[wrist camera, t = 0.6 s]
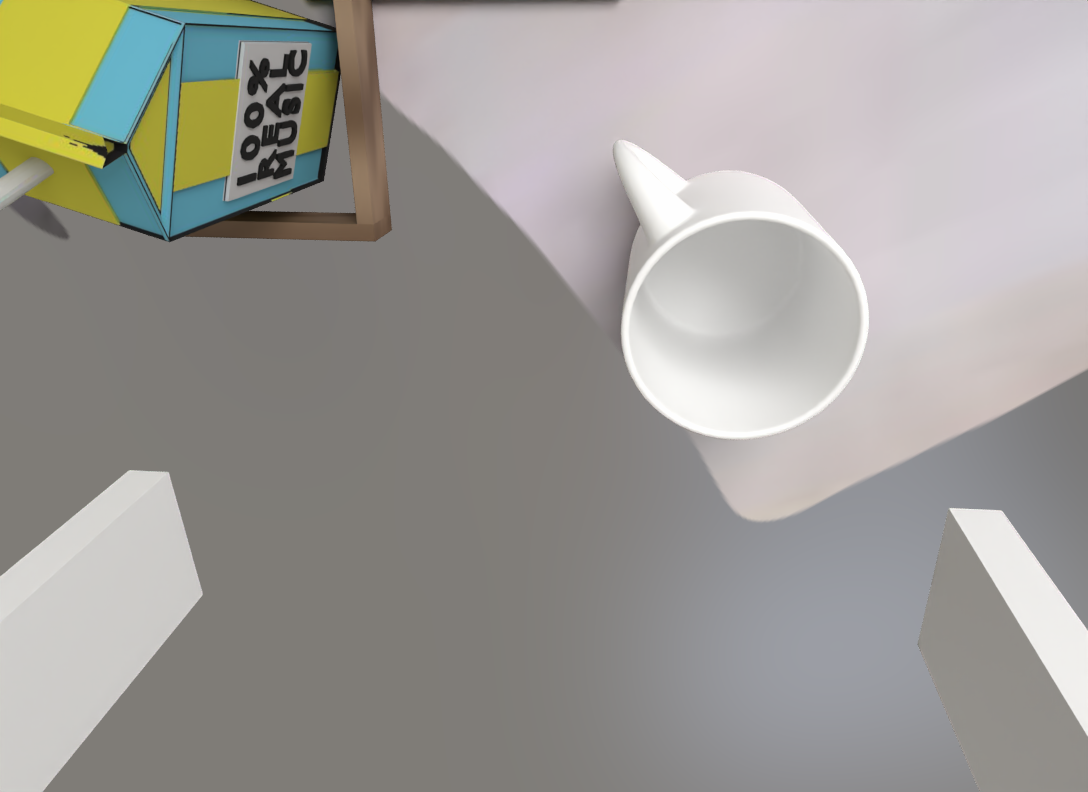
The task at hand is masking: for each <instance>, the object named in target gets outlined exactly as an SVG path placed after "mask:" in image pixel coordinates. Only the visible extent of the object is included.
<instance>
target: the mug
mask: <svg viewBox="0 0 1088 792" xmlns="http://www.w3.org/2000/svg"><path fill="white" fill-rule="evenodd" d="M613 157H614V161H615V165H616V168H617V171H618V174H619V177H620V179H621V182H622V184H623V187H624V189H625V191H626V193H627V196H628V198H629V200H630V202H631V204H632V206H633V209H634V211H635V213H636V215H637V217H638V220H639V222H640V226H639V228H638V230H637V233H636V236H635V238H634V241H633V244H632V249H631V254H630V259H629V267H628V274H627V281H626V289H625V296H624V304H623V311H622V320H621V346H622V350H623V355H624V360H625V363H626V365H627V368H628V371H629V374H630V376H631V377H632V379H633V381H634V383H635V385H636V387H637V388H638V390H639V391H640V392H641V394H642V395H643V397H644V398H645V399H646V400H647V401H648V402H649V403H650V404H651V405H652V406H653V407H654V408H655V409H656V410H657V411H658V412H660V413H661V414H662V415H663V416H665V417H666V418H668V419H669V420H671V421H672V422H674V423H675V424H677V425H679V426H681V427H683V428H685V429H687V430H690V431H692V432H695V433H698V434H701V435H704V436H709V437H714V438H719V439H730V440H746V439H756V438H763V437H767V436H771V435H775V434H779V433H782V432H784V431H787V430H790V429H792V428H794V427H796V426H798V425H800V424H802V423H804V422H806V421H808V420H809V419H811V418H812V417H814V416H815V415H817V414H818V413H820V412H821V411H822V410H823V409H825V408H826V407H827V406H828V405H829V404H830V403H832V402H833V400H834V399H835V398H836V397H837V396H838V395H839V394H840V393H841V392H842V391H843V389H844V388H845V386H846V385H847V384H848V382H849V381H850V379H851V378H852V376H853V374H854V373H855V371H856V369H857V367H858V365H859V363H860V360H861V357H862V355H863V352H864V349H865V345H866V340H867V336H868V326H869V311H868V302H867V297H866V293H865V288H864V286H863V283H862V281H861V278H860V275H859V273H858V272H857V270H856V268H855V266H854V265H853V263H852V261H851V260H850V258H849V257H848V256H847V255H846V253H845V252H844V251H843V250H842V248H841V247H840V246H839V245H838V244H837V243H836V242H835V241H834V240H833V239H832V237H831V236H830V235H829V234H828V233H827V232H826V231H825V230H824V229H823V228H822V227H821V226H820V224H819V223H818V222H817V221H816V220H815V219H814V218H813V217H812V216H811V215H810V214H809V212H808V211H807V210H806V209H805V208H804V207H803V206H802V205H801V204H800V203H799V202H798V201H797V200H796V199H795V198H794V197H793V196H792V195H791V194H790V193H789V192H788V191H787V190H785V189H784V188H782V187H781V186H779V185H778V184H776V183H775V182H773V181H771V180H769V179H767V178H765V177H762V176H759V175H756V174H753V173H748V172H743V171H732V170H724V171H714V172H710V173H706V174H702V175H699V176H696V177H693V178H690V179H688V180H684V179H683V178H681V177H680V176H679V175H678V174H676V173H675V172H674V171H672V170H671V169H670V168H669V167H667V166H666V165H665V164H663V163H662V162H661V161H659V160H658V159H657V158H655V157H654V156H653V155H651V154H650V153H648V152H647V151H645V150H643V149H642V148H640V147H638V146H637V145H635V144H633V143H631V142H628V141H625V140H618V141H616V142H615V143H614V145H613Z"/></svg>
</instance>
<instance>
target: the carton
mask: <svg viewBox="0 0 1088 792" xmlns="http://www.w3.org/2000/svg"><path fill="white" fill-rule="evenodd" d="M340 75H341V69H340V60H339V50H338V41H337V31H336V28H335V27H332V26H329V25H326V24H323V23H320V22H317V21H313V20H310V19H307V18H304V17H301V16H298V15H295V14H292V13H289V12H286V11H283V10H280V9H277V8H274V7H271V6H268V5H264V4H261V3H258V2H255V1H252V0H0V211H1V210H3V209H4V208H5V207H7V206H8V205H10V204H11V203H13V202H14V201H15V200H17V199H18V198H20V197H21V196H22V195H27V196H30V197H33V198H36V199H39V200H42V201H46V202H49V203H52V204H55V205H58V206H61V207H64V208H67V209H70V210H73V211H76V212H79V213H82V214H85V215H88V216H92V217H95V218H98V219H101V220H104V221H107V222H110V223H113V224H116V225H119V226H122V227H125V228H128V229H131V230H134V231H137V232H140V233H143V234H146V235H149V236H153V237H156V238H159V239H162V240H165V241H168V242H171V241H174V240H176V239H179V238H181V237H184V236H186V235H189V234H191V233H194V232H196V231H199V230H201V229H204V228H206V227H209V226H211V225H214V224H217V223H219V222H222V221H224V220H227V219H229V218H232V217H234V216H237V215H239V214H242V213H244V212H247V211H249V210H252V209H254V208H257V207H259V206H262V205H264V204H267V203H269V202H272V201H274V200H277V199H279V198H282V197H284V196H287V195H290V194H293V193H295V192H297V191H300V190H302V189H305V188H307V187H310V186H312V185H315V184H317V183H320V182H322V181H324V176H325V169H326V163H327V157H328V150H329V144H330V138H331V132H332V125H333V119H334V113H335V106H336V100H337V94H338V87H339V81H340Z"/></svg>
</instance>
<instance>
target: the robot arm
mask: <svg viewBox="0 0 1088 792" xmlns="http://www.w3.org/2000/svg"><path fill="white" fill-rule="evenodd" d="M202 595H203V593H202V590H201V586H200V583H199V579H198V575H197V572H196V568H195V565H194V561H193V558H192V554H191V551H190V547H189V543H188V540H187V536H186V533H185V529H184V526H183V522H182V519H181V515H180V511H179V508H178V504H177V501H176V497H175V493H174V490H173V486H172V483H171V479H170V476H169V472H152V471H132V470H131V471H130V470H129V471H128V472H127V473H126V474H124V475H123V476H122V477H121V478H119V480H117V481H116V482H115V483H113V484H112V485H111V486H110V487H109V488H107V489H106V490H105V491H104V492H102V493H101V494H100V495H99V496H98V497H96V498H95V499H94V500H93V501H92V502H90V503H89V504H88V505H87V506H85V507H84V508H83V509H82V510H81V511H79V512H78V513H77V514H76V515H75V516H73V517H72V518H71V519H70V520H69V521H67V522H66V523H65V524H64V525H62V526H61V527H60V528H59V529H58V530H56V531H55V532H54V533H53V534H52V535H50V536H49V537H48V538H47V539H45V540H44V541H43V542H42V543H41V544H40V545H38V546H37V547H36V548H35V549H33V550H32V551H31V552H30V553H28V554H27V555H26V556H25V557H24V558H22V559H21V560H20V561H19V562H17V563H16V564H15V565H14V566H13V567H11V568H10V569H9V570H8V571H7V572H5V573H4V574H3V575H2V576H0V792H43V790H44V789H45V788H46V787H47V785H48V784H49V783H50V782H51V780H52V779H53V778H54V777H55V775H56V774H57V773H58V772H59V770H60V769H61V768H62V767H63V765H64V764H65V763H66V762H67V761H68V760H69V758H70V757H71V756H72V755H73V753H74V752H75V751H76V750H77V749H78V747H79V746H80V745H81V743H82V742H83V741H84V740H85V739H86V737H87V736H88V735H89V734H90V732H91V731H92V730H93V729H94V728H95V726H96V725H97V724H98V723H99V722H100V720H101V719H102V718H103V717H104V715H105V714H106V713H107V712H108V710H109V709H110V708H111V707H112V706H113V704H114V703H115V702H116V701H117V699H118V698H119V697H120V696H121V694H122V693H123V692H124V691H125V690H126V688H127V687H128V686H129V685H130V683H131V682H132V681H133V680H134V678H135V677H136V676H137V675H138V674H139V672H140V671H141V670H142V669H143V667H144V666H145V665H146V664H147V663H148V661H149V660H150V659H151V658H152V656H153V655H154V654H155V653H156V652H157V650H158V649H159V648H160V647H161V645H162V644H163V643H164V642H165V640H166V639H167V638H168V637H169V636H170V634H171V633H172V632H173V631H174V629H175V628H176V627H177V626H178V624H179V623H180V622H181V621H182V620H183V618H184V617H185V616H186V615H187V613H188V612H189V611H190V610H191V609H192V607H193V606H194V605H195V604H196V602H197V601H198V600H199V599H200V597H201V596H202ZM918 646H919V649H920V651H921V654H922V656H923V658H924V660H925V663H926V665H927V668H928V670H929V672H930V675H931V677H932V679H933V682H934V684H935V686H936V689H937V692H938V694H939V696H940V699H941V701H942V703H943V705H944V708H945V710H946V713H947V715H948V718H949V720H950V722H951V725H952V727H953V729H954V732H955V734H956V737H957V739H958V741H959V743H960V746H961V748H962V750H963V753H964V756H965V758H966V760H967V763H968V765H969V767H970V770H971V772H972V774H973V777H974V779H975V782H976V784H977V786H978V789H979V791H980V792H1088V631H1087V629H1086V628H1085V626H1084V625H1083V623H1082V622H1081V621H1080V619H1079V618H1078V616H1077V615H1076V614H1075V612H1074V611H1073V609H1072V608H1071V607H1070V605H1069V604H1068V602H1067V601H1066V600H1065V599H1064V597H1063V596H1062V594H1061V593H1060V591H1059V590H1058V589H1057V587H1056V586H1055V584H1054V583H1053V582H1052V580H1051V579H1050V577H1049V576H1048V575H1047V573H1046V572H1045V570H1044V569H1043V568H1042V566H1041V565H1040V564H1039V562H1038V561H1037V559H1036V558H1035V556H1034V555H1033V554H1032V552H1031V551H1030V549H1029V548H1028V547H1027V545H1026V544H1025V543H1024V541H1023V540H1022V539H1021V537H1020V535H1019V534H1018V533H1017V532H1016V530H1015V528H1014V527H1013V526H1012V524H1011V523H1010V522H1009V520H1008V519H1007V517H1006V516H1005V515H1004V513H1003V512H1002V511H1001V510H979V509H978V510H977V509H957V508H956V509H955V508H949V510H948V514H947V518H946V522H945V527H944V531H943V536H942V540H941V544H940V549H939V553H938V557H937V562H936V566H935V570H934V575H933V579H932V583H931V588H930V592H929V597H928V601H927V605H926V610H925V614H924V618H923V623H922V627H921V631H920V636H919V640H918Z"/></svg>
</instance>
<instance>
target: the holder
mask: <svg viewBox="0 0 1088 792" xmlns="http://www.w3.org/2000/svg"><path fill="white" fill-rule="evenodd" d="M333 3H334V13H335V22H336V31H337V41H338V50H339V60H340V69H341V78H342V87H343V97H344V106H345V116H346V124H347V134H348V144H349V153H350V162H351V172H352V181H353V190H354V200H355V209H356V213H317V212H270V211H247V212H244V213H242V214H239V215H237V216H234V217H232V218H229V219H227V220H224V221H222V222H219V223H217V224H214V225H211V226H209V227H206V228H204V229H201V230H199V231H196V232H194V233H191V234H189V235H186V237H189V236H190V237H224V238H225V237H226V238H263V239H264V238H266V239H302V240H340V241H376V240H378V239H379V238H381V237H382V236H384V235H385V234H387V233H388V232H390V231H391V230H392V228H391V216H390V205H389V194H388V183H387V171H386V160H385V150H384V149H385V148H384V137H383V126H382V114H381V103H380V92H379V80H378V69H377V58H376V46H375V35H374V24H373V12H372V1H371V0H333ZM148 236H149V235H148Z"/></svg>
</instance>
